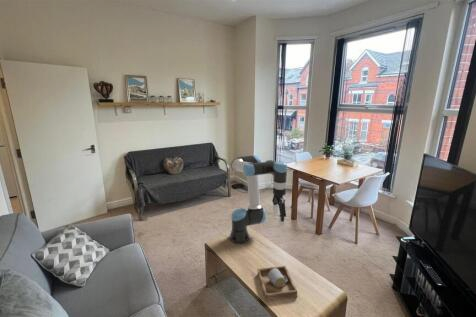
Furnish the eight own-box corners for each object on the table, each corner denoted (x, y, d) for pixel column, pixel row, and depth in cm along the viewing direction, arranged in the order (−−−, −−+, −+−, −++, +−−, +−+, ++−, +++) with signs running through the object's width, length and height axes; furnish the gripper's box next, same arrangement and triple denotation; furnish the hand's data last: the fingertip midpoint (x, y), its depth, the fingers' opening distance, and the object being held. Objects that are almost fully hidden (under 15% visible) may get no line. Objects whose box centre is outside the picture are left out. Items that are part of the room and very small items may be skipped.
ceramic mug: (274, 290, 131) (275, 279, 129) (267, 280, 138) (267, 269, 136) (290, 284, 135) (291, 273, 133) (282, 275, 142) (282, 264, 140)
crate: (257, 274, 145) (257, 268, 144) (285, 271, 147) (285, 265, 146) (265, 301, 126) (265, 295, 125) (297, 297, 128) (297, 291, 127)
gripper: (268, 180, 148) (267, 210, 154) (279, 196, 124) (278, 231, 130) (279, 179, 149) (278, 209, 154) (293, 195, 125) (291, 230, 131)
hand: (278, 219), depth 142 cm, fingers open, 13 cm apart
